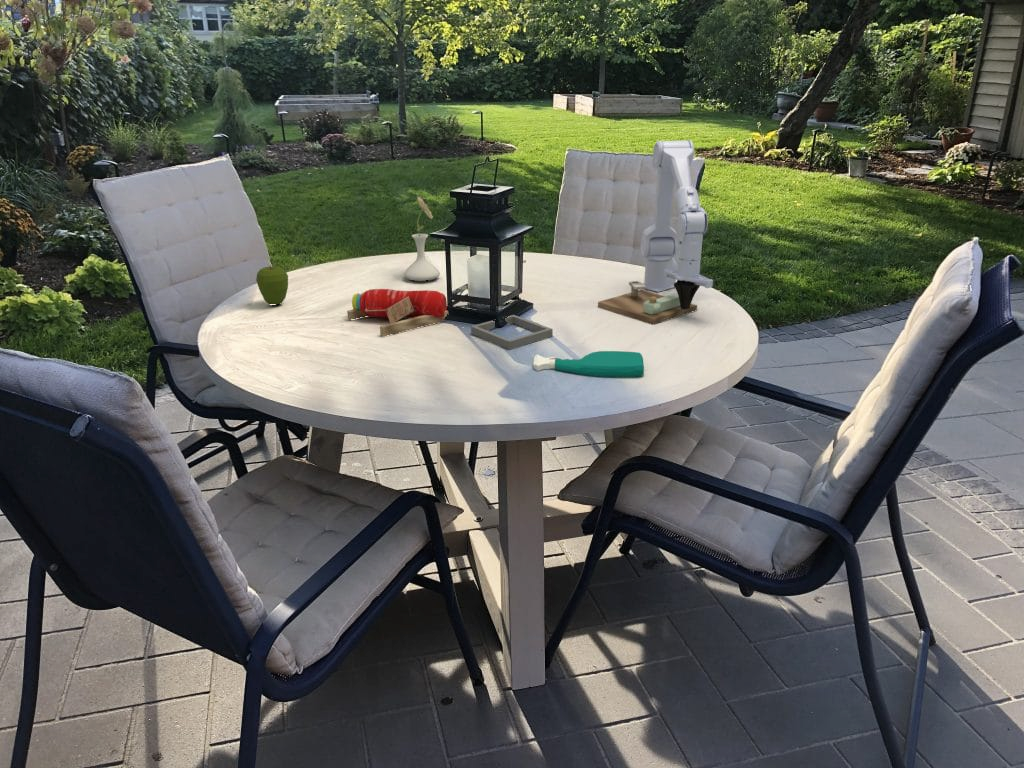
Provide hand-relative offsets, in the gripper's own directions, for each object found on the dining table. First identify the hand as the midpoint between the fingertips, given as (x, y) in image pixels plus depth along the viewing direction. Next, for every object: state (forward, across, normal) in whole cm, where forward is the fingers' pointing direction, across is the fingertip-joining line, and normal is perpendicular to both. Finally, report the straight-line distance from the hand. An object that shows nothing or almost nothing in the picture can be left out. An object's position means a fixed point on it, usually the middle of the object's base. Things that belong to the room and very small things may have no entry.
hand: (685, 308), depth 206 cm
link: (+1, -5, -2) cm, 5 cm away
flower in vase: (+2, -78, -32) cm, 84 cm away
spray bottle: (+3, +9, -45) cm, 46 cm away
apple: (+2, -82, -78) cm, 113 cm away
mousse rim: (+2, -19, -44) cm, 48 cm away
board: (+2, -11, -2) cm, 11 cm away
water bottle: (+2, -48, -60) cm, 76 cm away
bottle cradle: (+2, -48, -60) cm, 76 cm away
